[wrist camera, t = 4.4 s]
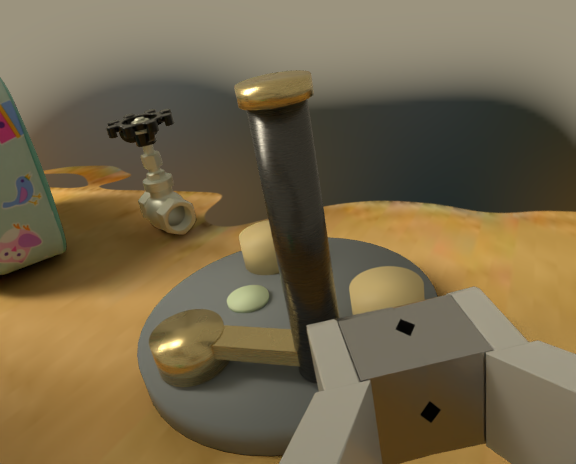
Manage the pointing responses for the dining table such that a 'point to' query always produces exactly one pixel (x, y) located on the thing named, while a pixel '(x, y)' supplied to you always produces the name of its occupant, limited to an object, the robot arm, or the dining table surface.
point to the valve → (155, 173)
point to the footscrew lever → (286, 238)
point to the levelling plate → (266, 314)
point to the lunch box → (24, 196)
